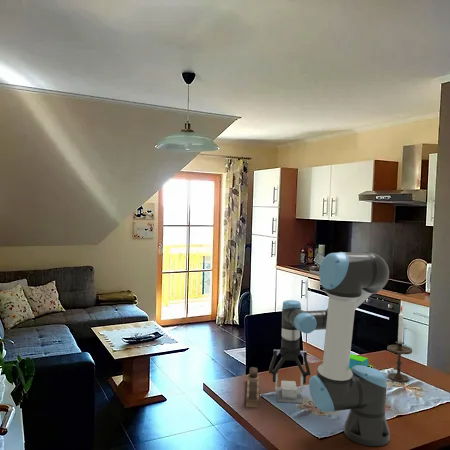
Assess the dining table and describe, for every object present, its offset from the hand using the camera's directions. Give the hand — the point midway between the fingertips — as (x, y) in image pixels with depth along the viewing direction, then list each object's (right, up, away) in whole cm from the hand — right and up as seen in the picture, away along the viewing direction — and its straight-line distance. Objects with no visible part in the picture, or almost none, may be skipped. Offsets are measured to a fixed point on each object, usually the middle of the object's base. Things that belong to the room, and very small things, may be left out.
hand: (288, 390), depth 183 cm
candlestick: (+55, -3, +22) cm, 59 cm away
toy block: (+37, -3, +23) cm, 44 cm away
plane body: (-15, -2, +1) cm, 15 cm away
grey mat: (0, -2, 0) cm, 2 cm away
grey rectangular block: (0, -2, 0) cm, 2 cm away
